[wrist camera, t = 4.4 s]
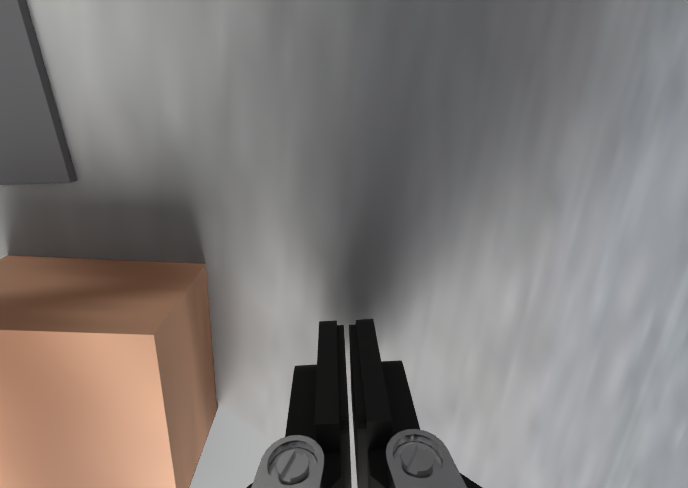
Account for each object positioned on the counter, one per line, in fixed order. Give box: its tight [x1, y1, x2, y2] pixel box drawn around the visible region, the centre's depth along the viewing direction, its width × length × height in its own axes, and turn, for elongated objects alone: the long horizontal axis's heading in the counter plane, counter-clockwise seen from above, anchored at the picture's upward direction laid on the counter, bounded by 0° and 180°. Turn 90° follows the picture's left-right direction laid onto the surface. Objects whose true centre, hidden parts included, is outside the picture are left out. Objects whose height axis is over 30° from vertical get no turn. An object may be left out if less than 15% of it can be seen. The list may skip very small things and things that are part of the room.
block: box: [0, 256, 219, 488], centre depth 11 cm, size 6×6×4 cm
